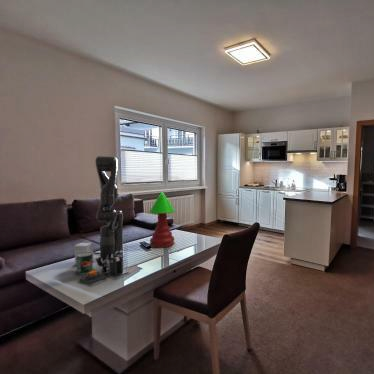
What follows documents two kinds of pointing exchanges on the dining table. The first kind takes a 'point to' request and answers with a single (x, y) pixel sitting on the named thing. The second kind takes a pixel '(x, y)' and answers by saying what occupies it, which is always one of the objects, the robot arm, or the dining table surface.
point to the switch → (109, 263)
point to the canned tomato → (84, 262)
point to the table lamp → (162, 223)
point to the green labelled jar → (83, 249)
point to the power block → (92, 278)
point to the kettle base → (116, 267)
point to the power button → (92, 272)
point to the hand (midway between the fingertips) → (107, 271)
